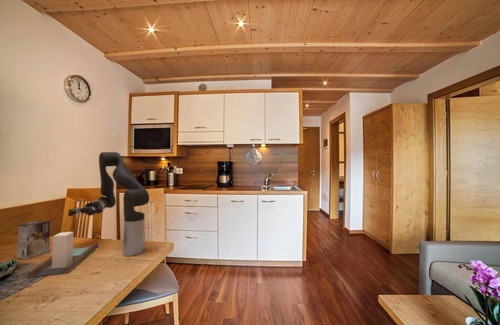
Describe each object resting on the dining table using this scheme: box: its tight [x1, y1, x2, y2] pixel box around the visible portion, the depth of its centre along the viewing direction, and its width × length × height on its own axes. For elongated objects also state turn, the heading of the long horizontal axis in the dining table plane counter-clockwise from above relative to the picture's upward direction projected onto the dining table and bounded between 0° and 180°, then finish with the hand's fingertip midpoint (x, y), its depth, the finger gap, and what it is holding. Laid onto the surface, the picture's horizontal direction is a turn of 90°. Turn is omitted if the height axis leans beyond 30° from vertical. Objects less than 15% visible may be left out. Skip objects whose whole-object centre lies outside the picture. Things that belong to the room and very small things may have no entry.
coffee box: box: [16, 219, 51, 260], centre depth 96 cm, size 9×6×16 cm
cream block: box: [51, 231, 74, 269], centre depth 87 cm, size 5×5×14 cm
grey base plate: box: [33, 256, 78, 278], centre depth 86 cm, size 10×17×1 cm, turn 17°
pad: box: [73, 246, 90, 256], centre depth 99 cm, size 10×10×1 cm
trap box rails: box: [26, 242, 99, 279], centre depth 91 cm, size 13×27×2 cm, turn 17°
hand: (79, 214), depth 99 cm, fingers open, 8 cm apart
